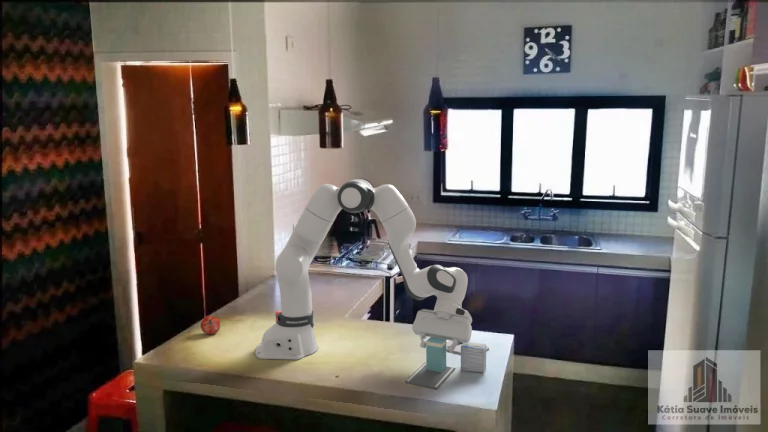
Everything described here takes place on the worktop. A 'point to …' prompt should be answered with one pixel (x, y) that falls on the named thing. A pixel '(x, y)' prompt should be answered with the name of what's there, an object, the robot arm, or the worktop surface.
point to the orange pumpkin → (210, 325)
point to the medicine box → (473, 357)
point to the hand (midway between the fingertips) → (435, 349)
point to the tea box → (436, 354)
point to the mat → (429, 377)
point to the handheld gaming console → (458, 347)
